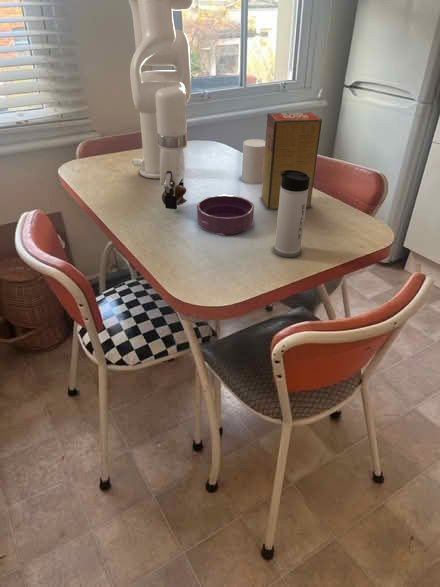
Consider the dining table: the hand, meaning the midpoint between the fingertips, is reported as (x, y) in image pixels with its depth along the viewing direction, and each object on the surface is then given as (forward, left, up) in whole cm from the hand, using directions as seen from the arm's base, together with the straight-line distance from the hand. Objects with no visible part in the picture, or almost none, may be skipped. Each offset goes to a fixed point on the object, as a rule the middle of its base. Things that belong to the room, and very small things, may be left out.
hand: (174, 201), depth 126 cm
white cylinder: (+20, +29, -3) cm, 36 cm away
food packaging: (+31, +11, -3) cm, 33 cm away
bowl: (+15, -6, -3) cm, 17 cm away
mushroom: (0, -1, -1) cm, 1 cm away
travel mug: (+32, -19, -3) cm, 37 cm away
